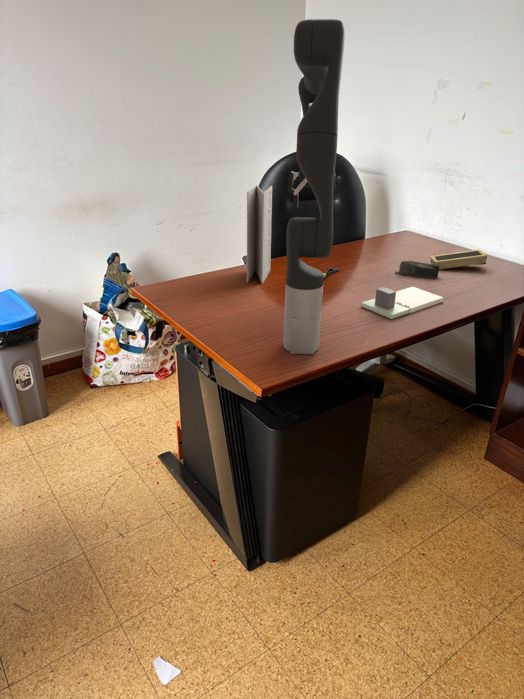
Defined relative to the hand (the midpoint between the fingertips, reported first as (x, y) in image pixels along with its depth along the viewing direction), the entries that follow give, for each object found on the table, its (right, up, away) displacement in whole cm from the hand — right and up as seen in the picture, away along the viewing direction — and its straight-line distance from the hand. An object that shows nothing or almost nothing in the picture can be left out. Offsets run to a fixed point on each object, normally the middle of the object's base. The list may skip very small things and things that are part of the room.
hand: (310, 207), depth 162 cm
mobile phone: (+41, -17, +28) cm, 52 cm away
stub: (+22, -31, -2) cm, 39 cm away
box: (+57, -13, +37) cm, 69 cm away
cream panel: (+32, -28, +5) cm, 43 cm away
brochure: (-16, -18, +24) cm, 34 cm away
